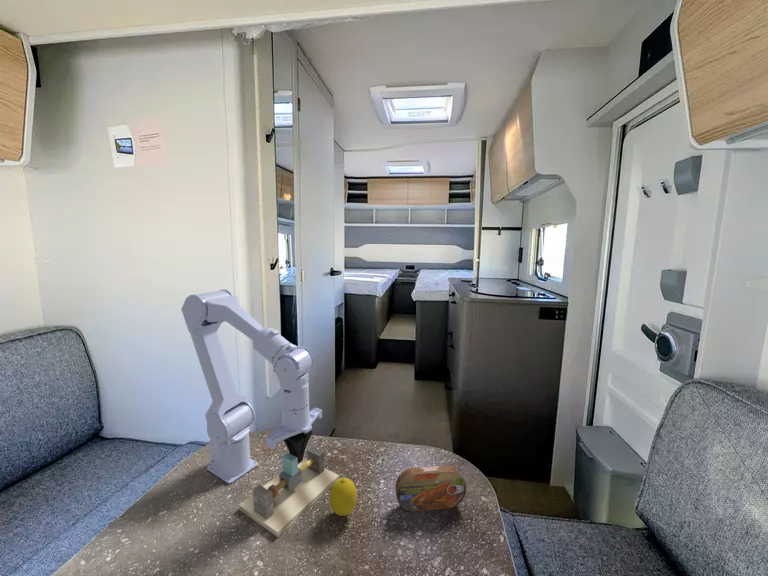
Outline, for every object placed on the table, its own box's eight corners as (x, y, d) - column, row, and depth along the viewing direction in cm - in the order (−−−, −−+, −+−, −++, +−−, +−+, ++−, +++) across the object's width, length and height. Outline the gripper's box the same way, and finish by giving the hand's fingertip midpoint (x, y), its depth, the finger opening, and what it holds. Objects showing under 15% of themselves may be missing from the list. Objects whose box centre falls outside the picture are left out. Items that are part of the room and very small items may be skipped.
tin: (395, 513, 68) (396, 476, 67) (394, 501, 71) (394, 466, 70) (465, 508, 70) (467, 472, 68) (461, 496, 73) (462, 462, 72)
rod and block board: (278, 537, 62) (276, 509, 61) (239, 509, 69) (237, 483, 68) (339, 479, 77) (338, 456, 76) (302, 461, 84) (302, 439, 83)
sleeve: (289, 491, 70) (288, 464, 69) (279, 486, 72) (278, 459, 71) (301, 481, 73) (300, 454, 72) (292, 476, 75) (291, 450, 74)
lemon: (352, 527, 65) (352, 491, 63) (325, 522, 66) (325, 486, 64) (360, 505, 70) (360, 471, 69) (335, 501, 71) (335, 467, 70)
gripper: (282, 425, 63) (284, 488, 65) (331, 395, 75) (332, 449, 77) (258, 414, 67) (261, 474, 69) (309, 388, 79) (310, 439, 81)
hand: (297, 460), depth 73 cm, fingers closed
